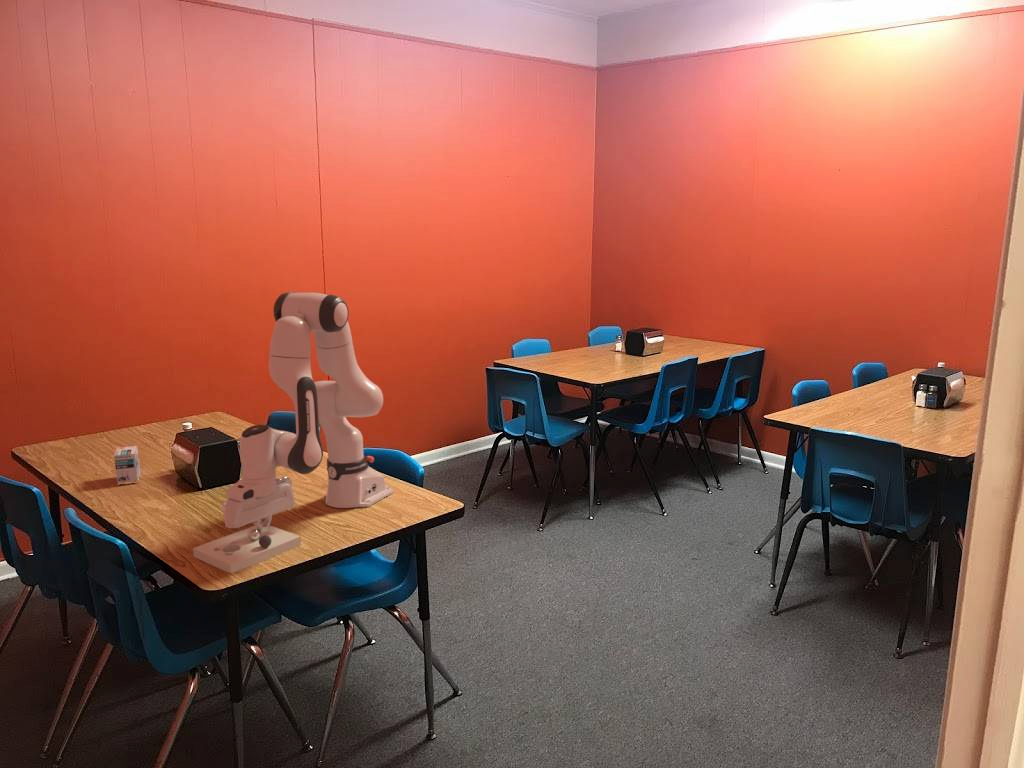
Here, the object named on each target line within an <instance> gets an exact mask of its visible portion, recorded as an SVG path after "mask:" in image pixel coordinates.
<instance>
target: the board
mask: <svg viewBox="0 0 1024 768" xmlns="http://www.w3.org/2000/svg"><path fill="white" fill-rule="evenodd" d="M263 523H264V522H261V523H260V524H261V525H263ZM253 528H255V529H257V527H256V526H255V525H253V526H249V527H246V528H245V529H244V528H243V529H242V530H238V531H236V532H234V533H230V534H228V535H225V536H222V537H220V538H217V539H214V540H212V541H209V542H206V543H203V544H201V545H197V546H196V547H193V548H192V551H193V553H192V554H193V558H195V559H197V560H200V561H202V562H204V563H206V564H209V565H210V566H213V567H216V568H217V569H220V570H221V571H224V572H226V573H229V574H230V575H231V574H232V575H233V574H235V573H237V572H239V571H242V570H244V569H246V568H249V567H251V566H254V565H256V564H259V563H261V562H263V561H265V560H268V559H270V558H273V557H275V556H278V555H280V554H283V553H285V552H287V551H289V550H293V549H296V548H297V547H300V546H301V545H302V538H301V535H297V534H294V533H293V532H290V531H286V530H285V529H281V528H279V527H276V526H273V525H269V531H267V532H265V533H262V534H260V536H259V538H258V539H257V540H250V539H249V538H248V532H249V530H251V529H253ZM264 535H267V536H269V537H270V538H271V544H270V545H269V546H268V547H261V546H260V544H259V539H260V538H261V537H262V536H264Z"/></svg>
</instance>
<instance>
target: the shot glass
mask: <svg viewBox="0 0 1024 768" xmlns="http://www.w3.org/2000/svg"><path fill="white" fill-rule="evenodd" d="M226 502H227V500H225V501H223V502H221V508H222V513H223V519H224V525H225V527H226V528H227V527H228V529H235V528H234V527H231V526H229V525H228V524H227V523H226V516H225V506H226ZM244 526H245V525H243V526H241V527H238V528H237V529H239V528H242V527H244Z"/></svg>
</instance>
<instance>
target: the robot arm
mask: <svg viewBox="0 0 1024 768" xmlns="http://www.w3.org/2000/svg"><path fill="white" fill-rule="evenodd" d="M273 317H274V320H275V323H274V326H273V331H272V334H271V337H270V345H269V355H268V356H269V357H268V372H269V377H270V378H271V380H272V381H273V383H274V384H275V385H276V386H277V387H278V388H280V389H282V391H284V393H286V395H287V396H289V398H290V399H291V400H292V403H293V406H294V413H295V432H296V433H294V432H290V431H286V430H278V429H275V428H272V427H270V426H269V425H267V424H255V425H254V424H253V425H251V426H249V427H247V428H246V429H244V430H243V431H242V433H241V434H240V435H241V436H240V438H239V457H240V463H241V466H242V471H241V479H239V480H238V481H237V482H236V483H235V484H232V486H230V487H229V488H227V489H226V490H225V496H226V497H227V498H228V499H227V500H226V501H227V502H226V506H225V516H226V523H227V524H228V525H229V526H231V527H234V528H233V529H239V528H242V527H244V526H245V525H249V524H250V523H252V524H254V525H253V526H256V527H257V530H259V532H260V534H262V533H265V532H267V531H269V525H270V524H271V522H272V519H273V515H276V514H279V513H281V512H285V511H287V510H290V509H292V508H294V507H295V504H296V499H295V494H294V489H293V481H292V479H291V478H290V477H288V476H282V477H280V478H277V475H276V469H277V468H278V467H283V468H285V469H289V470H291V471H294V472H296V473H298V474H301V475H308V474H310V473H312V472H314V471H315V470H316V469H317V468H319V466H320V464H321V463H322V461H323V458H324V448H323V443H322V440H321V436H320V426H321V428H322V430H323V432H324V436H325V440H326V450H327V459H326V470H327V474H328V476H327V477H328V478H327V488H326V489H327V490H326V497H325V500H324V504H326V505H327V506H328V507H332V508H337V509H350V508H367V507H368V508H369V507H370V506H372V505H375V504H376V503H377V502H380V501H381V500H383V499H385V498H386V496H387V497H389V496H390V495H392V494H393V493H394V490H393V488H391V486H388V485H386V480H385V476H384V475H383V474H382V473H380V472H379V471H377V470H376V469H374V468H372V467H370V465H369V463H371V464H372V463H373V462H374V461H375V458H374V457H373V455H372V456H370V455H367V456H366V455H364V438H363V435H362V432H361V430H359V428H357V427H356V426H354V425H352V424H351V423H350V422H349V421H348V418H349V417H350V418H365V417H366V418H368V417H373V416H376V415H378V414H379V412H380V411H381V410H382V408H383V405H384V394H383V391H382V389H381V388H380V386H379V385H377V384H375V382H373V381H371V380H370V379H369V378H368V377H367V376H366V374H365V373H363V371H362V369H361V368H360V366H359V365H358V361H357V357H356V354H355V349H354V343H353V337H352V332H351V327H350V323H349V320H348V319H349V307H348V305H347V303H346V302H345V300H344V299H343V298H342V297H340V296H337V295H333V294H325V293H319V292H294V291H289V292H284V293H281V294H280V295H279V296H278V297H277V299H275V302H274V304H273ZM312 332H313V340H314V341H313V342H314V346H315V352H316V357H317V363H318V367H319V369H320V370H321V371H322V372H323V373H324V374H326V375H327V376H329V377H330V378H332V380H318V381H314V379H313V375H312V374H313V373H312V367H311V366H312V364H311V358H312V357H311V356H312V341H311V340H312V338H311V335H312ZM347 417H348V418H347ZM384 497H385V498H384ZM262 519H264V520H263V522H262ZM260 523H263V525H261V524H260ZM243 525H244V526H243ZM241 526H242V527H241ZM238 527H239V528H238Z"/></svg>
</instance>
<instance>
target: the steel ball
mask: <svg viewBox="0 0 1024 768" xmlns="http://www.w3.org/2000/svg"><path fill="white" fill-rule="evenodd" d="M259 536H260V532H259V530H257V529H255V528H253V529H251V530H249V532H248V538H249V539H250V540H257V539H258V538H259Z"/></svg>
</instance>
